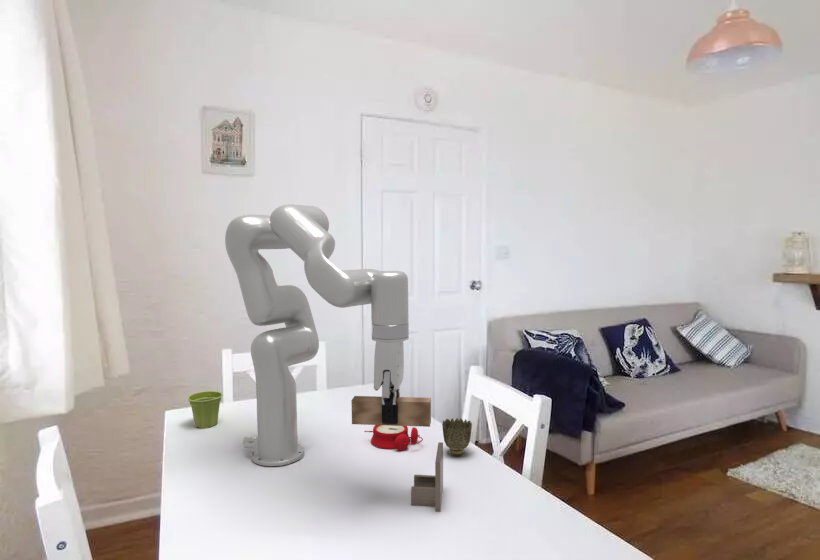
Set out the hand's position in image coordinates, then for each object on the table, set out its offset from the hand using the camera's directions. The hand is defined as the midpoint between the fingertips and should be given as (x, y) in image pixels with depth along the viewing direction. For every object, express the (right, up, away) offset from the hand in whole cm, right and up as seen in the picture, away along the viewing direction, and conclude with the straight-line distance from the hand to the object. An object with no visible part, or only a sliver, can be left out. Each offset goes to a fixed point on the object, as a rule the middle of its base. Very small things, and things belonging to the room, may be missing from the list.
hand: (391, 419), depth 106 cm
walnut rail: (0, -1, 0) cm, 1 cm away
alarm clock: (0, -15, +30) cm, 33 cm away
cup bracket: (+7, -16, 0) cm, 18 cm away
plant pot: (-55, -14, +44) cm, 72 cm away
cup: (+16, -15, +23) cm, 31 cm away
